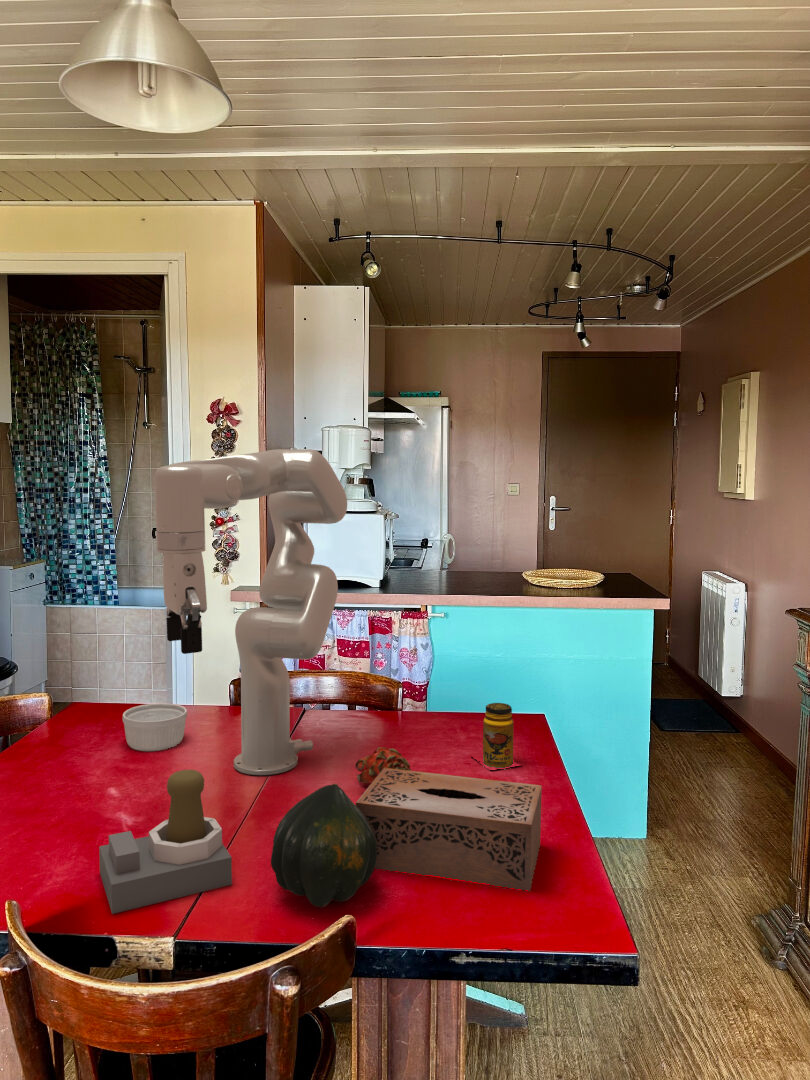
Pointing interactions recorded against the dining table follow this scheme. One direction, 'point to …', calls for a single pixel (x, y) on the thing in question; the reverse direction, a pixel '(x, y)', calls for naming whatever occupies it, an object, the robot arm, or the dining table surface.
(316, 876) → the squash
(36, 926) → the dining table surface
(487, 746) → the condiment
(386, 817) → the tissue box cover
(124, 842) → the mount
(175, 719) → the ramekin
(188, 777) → the brown pawn shaped peg
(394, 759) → the dragon fruit
